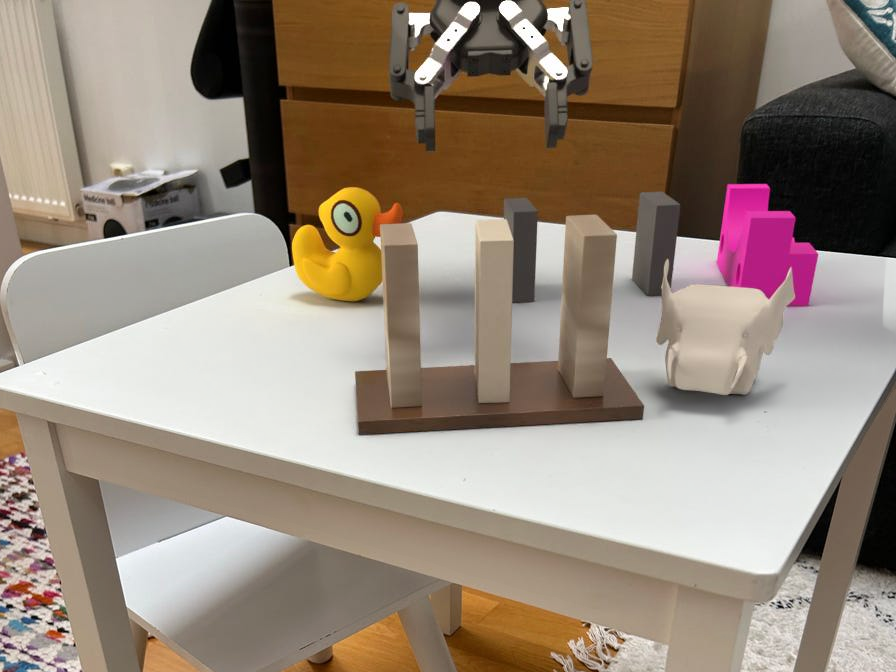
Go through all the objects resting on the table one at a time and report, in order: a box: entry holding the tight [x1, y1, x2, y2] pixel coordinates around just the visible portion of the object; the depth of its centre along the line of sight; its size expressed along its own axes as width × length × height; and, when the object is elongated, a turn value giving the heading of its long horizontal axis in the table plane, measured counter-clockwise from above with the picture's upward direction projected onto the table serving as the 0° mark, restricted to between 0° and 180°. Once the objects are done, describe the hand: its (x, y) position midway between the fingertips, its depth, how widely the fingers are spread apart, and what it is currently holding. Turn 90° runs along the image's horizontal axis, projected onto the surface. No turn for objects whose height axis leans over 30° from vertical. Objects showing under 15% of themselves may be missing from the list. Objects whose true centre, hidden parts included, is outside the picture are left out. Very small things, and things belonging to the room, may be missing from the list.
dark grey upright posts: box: [503, 191, 681, 304], centre depth 94 cm, size 15×6×8 cm, turn 94°
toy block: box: [716, 183, 819, 307], centre depth 94 cm, size 15×6×8 cm, turn 173°
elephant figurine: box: [655, 259, 795, 396], centre depth 71 cm, size 10×12×9 cm
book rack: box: [354, 214, 645, 435], centre depth 70 cm, size 20×10×12 cm, turn 94°
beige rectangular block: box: [474, 218, 514, 403], centre depth 69 cm, size 2×6×11 cm, turn 0°
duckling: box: [291, 186, 404, 302], centre depth 93 cm, size 11×5×10 cm, turn 67°
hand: (491, 142), depth 69 cm, fingers open, 8 cm apart
